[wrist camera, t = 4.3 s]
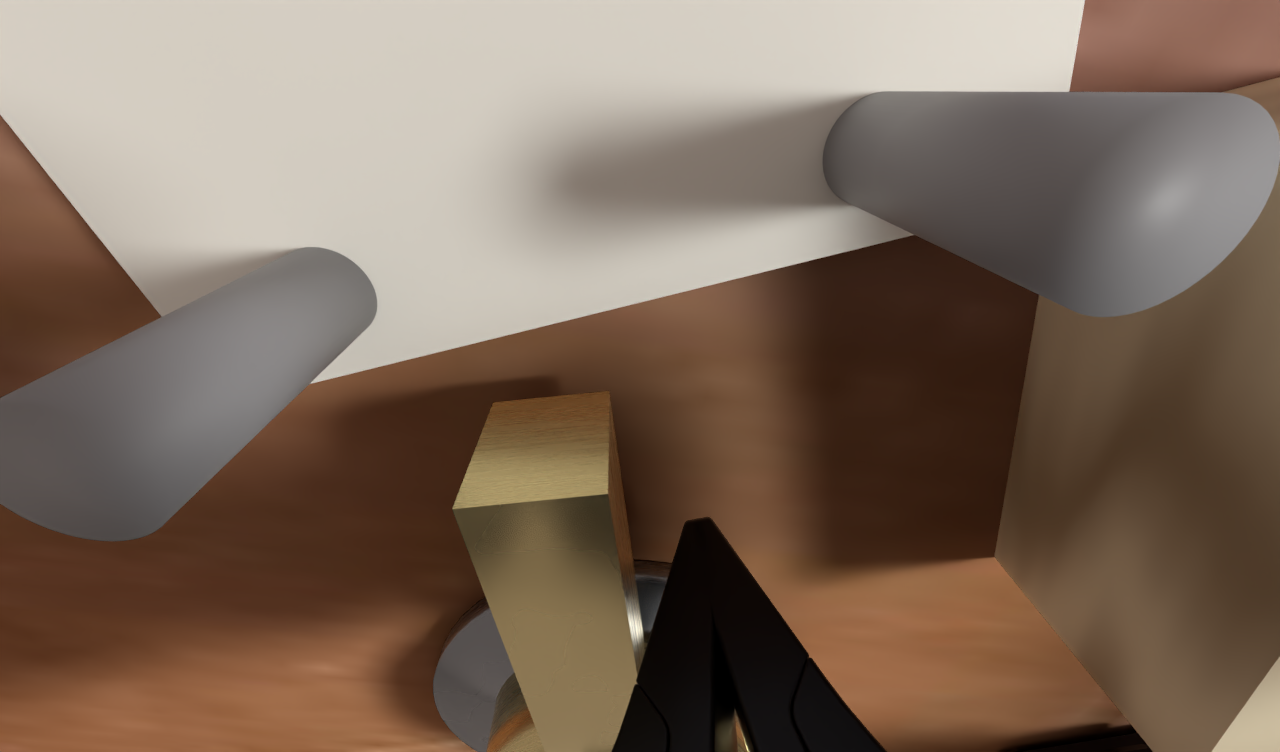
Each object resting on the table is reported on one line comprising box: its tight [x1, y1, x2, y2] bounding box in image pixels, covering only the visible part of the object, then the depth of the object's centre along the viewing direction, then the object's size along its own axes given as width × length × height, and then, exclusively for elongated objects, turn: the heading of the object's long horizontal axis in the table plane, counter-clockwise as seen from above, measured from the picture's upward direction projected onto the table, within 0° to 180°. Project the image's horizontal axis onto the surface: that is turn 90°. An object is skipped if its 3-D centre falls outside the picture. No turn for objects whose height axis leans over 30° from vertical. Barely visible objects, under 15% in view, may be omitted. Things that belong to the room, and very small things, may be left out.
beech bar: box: [994, 77, 1280, 752], centre depth 8 cm, size 10×4×5 cm, turn 14°
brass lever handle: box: [452, 391, 748, 752], centre depth 11 cm, size 14×7×3 cm, turn 5°
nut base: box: [433, 561, 672, 752], centre depth 14 cm, size 10×10×1 cm
